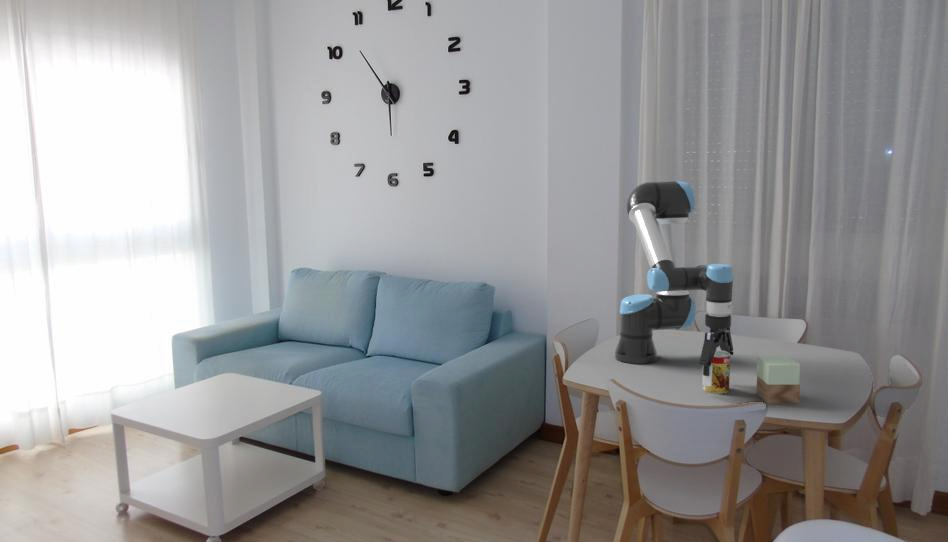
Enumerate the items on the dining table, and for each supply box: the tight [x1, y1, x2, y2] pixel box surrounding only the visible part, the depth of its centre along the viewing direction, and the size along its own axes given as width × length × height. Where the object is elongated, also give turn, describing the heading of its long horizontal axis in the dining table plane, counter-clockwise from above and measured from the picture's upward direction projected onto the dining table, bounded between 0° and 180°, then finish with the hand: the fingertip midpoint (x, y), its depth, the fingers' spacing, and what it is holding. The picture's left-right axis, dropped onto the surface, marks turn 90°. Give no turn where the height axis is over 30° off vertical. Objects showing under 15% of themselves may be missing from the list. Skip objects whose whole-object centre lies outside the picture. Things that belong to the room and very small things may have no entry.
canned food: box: [702, 349, 731, 395], centre depth 202 cm, size 8×8×12 cm
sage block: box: [756, 355, 801, 385], centre depth 193 cm, size 9×9×6 cm
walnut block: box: [755, 375, 801, 405], centre depth 194 cm, size 9×9×6 cm
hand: (716, 379), depth 203 cm, fingers open, 13 cm apart
